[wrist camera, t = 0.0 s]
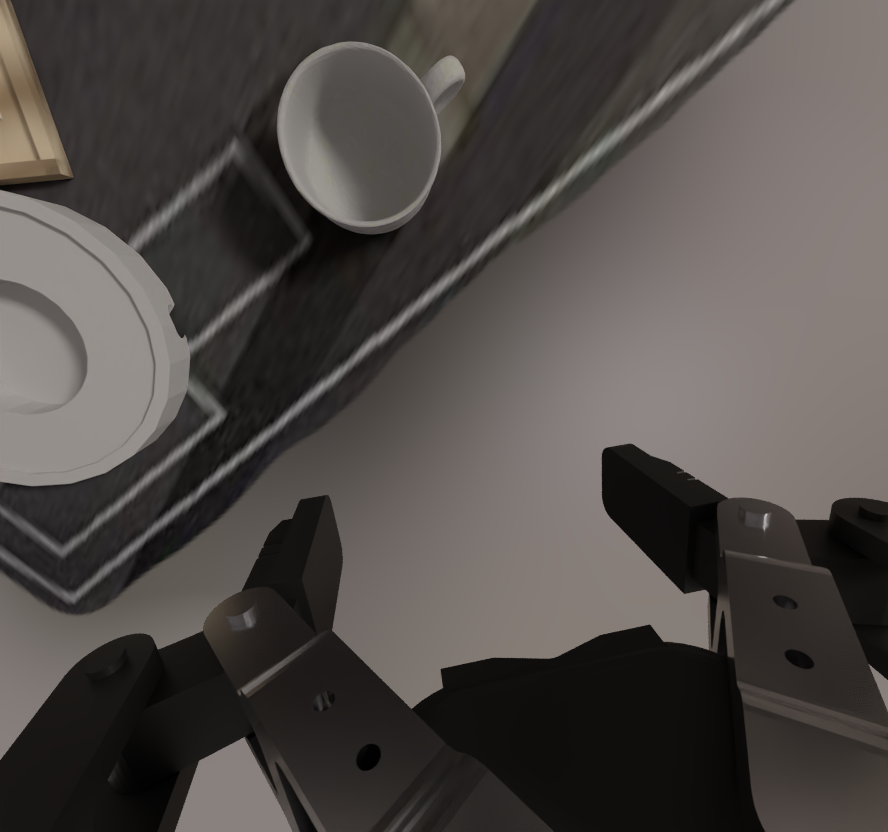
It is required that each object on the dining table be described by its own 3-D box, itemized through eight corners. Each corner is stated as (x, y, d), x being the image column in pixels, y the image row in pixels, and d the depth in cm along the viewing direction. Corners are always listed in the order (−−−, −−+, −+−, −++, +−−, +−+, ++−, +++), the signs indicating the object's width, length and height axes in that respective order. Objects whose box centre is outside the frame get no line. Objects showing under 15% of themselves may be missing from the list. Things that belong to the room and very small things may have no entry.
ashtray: (-162, 375, 35) (-229, 386, 31) (-52, 123, 31) (-113, 100, 27) (120, 508, 41) (93, 531, 37) (240, 314, 37) (223, 317, 33)
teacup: (341, 261, 37) (330, 254, 29) (273, 129, 33) (239, 83, 26) (483, 189, 36) (508, 164, 29) (429, 50, 33) (442, -21, 25)
